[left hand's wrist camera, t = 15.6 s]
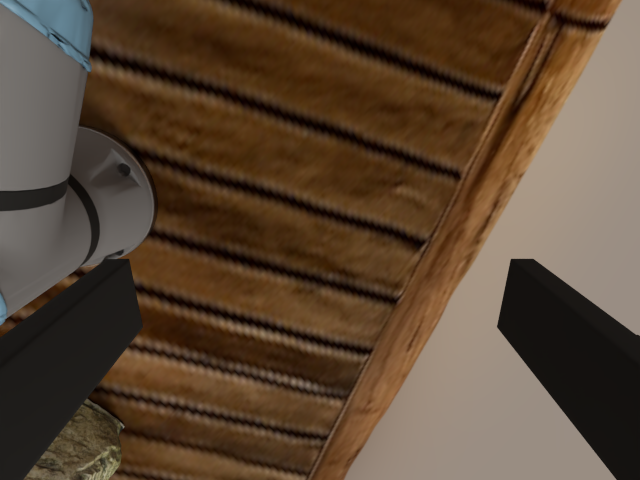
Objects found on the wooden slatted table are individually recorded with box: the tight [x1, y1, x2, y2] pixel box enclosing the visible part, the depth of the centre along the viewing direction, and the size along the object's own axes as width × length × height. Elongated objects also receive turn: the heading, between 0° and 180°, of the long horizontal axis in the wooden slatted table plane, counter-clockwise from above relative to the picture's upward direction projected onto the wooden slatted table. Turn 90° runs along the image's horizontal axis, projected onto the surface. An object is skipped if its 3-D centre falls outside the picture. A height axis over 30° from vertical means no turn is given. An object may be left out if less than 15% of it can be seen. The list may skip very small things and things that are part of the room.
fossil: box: [23, 399, 124, 480], centre depth 46 cm, size 9×18×15 cm, turn 66°
